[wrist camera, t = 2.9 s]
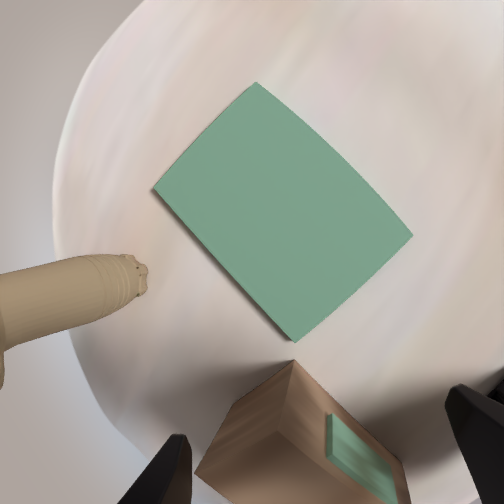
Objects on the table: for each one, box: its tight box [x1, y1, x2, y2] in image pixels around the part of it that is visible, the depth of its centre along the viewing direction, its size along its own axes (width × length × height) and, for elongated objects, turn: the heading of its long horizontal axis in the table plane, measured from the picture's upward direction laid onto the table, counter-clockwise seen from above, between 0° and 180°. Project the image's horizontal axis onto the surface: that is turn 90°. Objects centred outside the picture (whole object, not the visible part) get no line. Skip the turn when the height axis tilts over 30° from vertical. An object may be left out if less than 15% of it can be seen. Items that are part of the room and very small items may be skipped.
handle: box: [0, 254, 148, 389], centre depth 14 cm, size 5×6×15 cm
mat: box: [153, 82, 413, 343], centre depth 19 cm, size 14×10×1 cm
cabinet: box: [194, 360, 411, 504], centre depth 16 cm, size 14×8×8 cm, turn 44°
